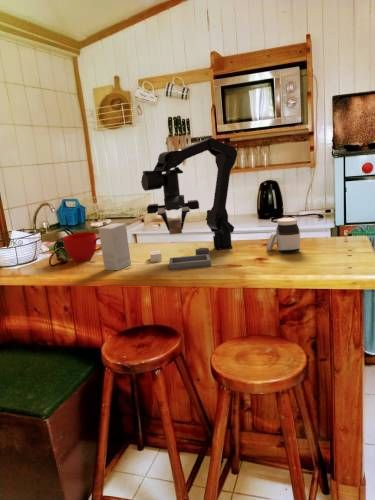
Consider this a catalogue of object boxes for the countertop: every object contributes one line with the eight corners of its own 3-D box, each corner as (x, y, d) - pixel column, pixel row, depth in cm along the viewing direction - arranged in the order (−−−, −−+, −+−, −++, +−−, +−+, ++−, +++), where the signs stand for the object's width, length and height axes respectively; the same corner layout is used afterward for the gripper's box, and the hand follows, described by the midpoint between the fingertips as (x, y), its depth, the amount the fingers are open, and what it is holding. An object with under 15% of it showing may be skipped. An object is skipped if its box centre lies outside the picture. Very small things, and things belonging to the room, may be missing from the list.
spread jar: (302, 253, 140) (301, 220, 137) (270, 256, 140) (268, 223, 137) (294, 246, 151) (293, 215, 149) (264, 248, 152) (262, 218, 149)
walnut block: (181, 231, 150) (180, 217, 149) (181, 233, 146) (180, 219, 145) (169, 232, 150) (168, 219, 149) (169, 234, 146) (168, 220, 145)
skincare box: (118, 263, 151) (113, 222, 147) (132, 264, 147) (127, 222, 144) (103, 270, 144) (97, 227, 140) (117, 271, 141) (111, 227, 137)
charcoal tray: (209, 259, 144) (208, 254, 144) (211, 266, 135) (210, 260, 135) (170, 263, 144) (169, 257, 144) (169, 270, 135) (169, 264, 135)
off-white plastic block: (161, 257, 155) (160, 250, 154) (162, 261, 149) (161, 253, 148) (150, 258, 154) (149, 251, 154) (151, 262, 148) (150, 254, 148)
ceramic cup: (100, 263, 154) (96, 237, 152) (60, 264, 158) (56, 240, 156) (113, 254, 167) (109, 231, 164) (75, 256, 170) (72, 233, 168)
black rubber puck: (209, 255, 151) (208, 247, 150) (210, 258, 146) (209, 250, 146) (195, 256, 151) (195, 248, 150) (196, 259, 146) (195, 251, 145)
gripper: (143, 191, 137) (148, 236, 140) (198, 186, 137) (201, 231, 140) (146, 189, 148) (150, 230, 151) (196, 184, 147) (200, 226, 151)
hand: (175, 229), depth 148 cm, fingers closed on walnut block, 4 cm apart
